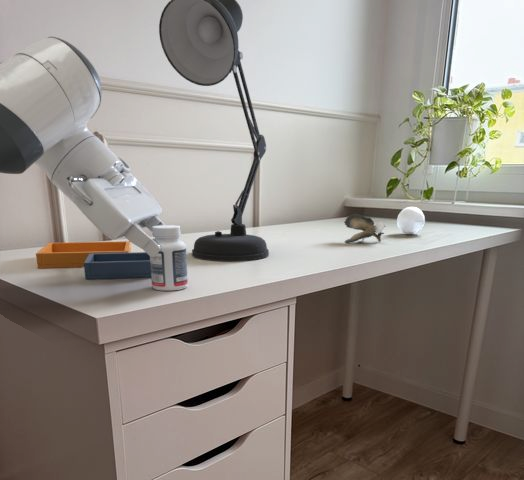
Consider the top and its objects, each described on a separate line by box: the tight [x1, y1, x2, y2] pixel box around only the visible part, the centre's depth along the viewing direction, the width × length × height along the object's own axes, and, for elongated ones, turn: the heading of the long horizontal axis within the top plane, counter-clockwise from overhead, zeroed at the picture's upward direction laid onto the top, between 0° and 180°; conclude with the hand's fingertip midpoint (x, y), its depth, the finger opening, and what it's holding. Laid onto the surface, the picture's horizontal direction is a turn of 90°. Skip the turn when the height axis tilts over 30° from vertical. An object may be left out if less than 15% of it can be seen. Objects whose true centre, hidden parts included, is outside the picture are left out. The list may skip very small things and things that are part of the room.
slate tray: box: [83, 251, 151, 280], centre depth 87 cm, size 12×10×3 cm
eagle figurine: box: [343, 213, 386, 243], centre depth 125 cm, size 8×7×9 cm
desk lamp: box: [158, 0, 270, 262], centre depth 98 cm, size 24×26×45 cm
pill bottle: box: [150, 224, 189, 292], centre depth 75 cm, size 5×5×9 cm
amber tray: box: [35, 240, 132, 269], centre depth 97 cm, size 16×14×3 cm
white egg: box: [396, 206, 426, 235], centre depth 141 cm, size 10×7×7 cm
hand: (165, 248), depth 74 cm, fingers open, 8 cm apart
